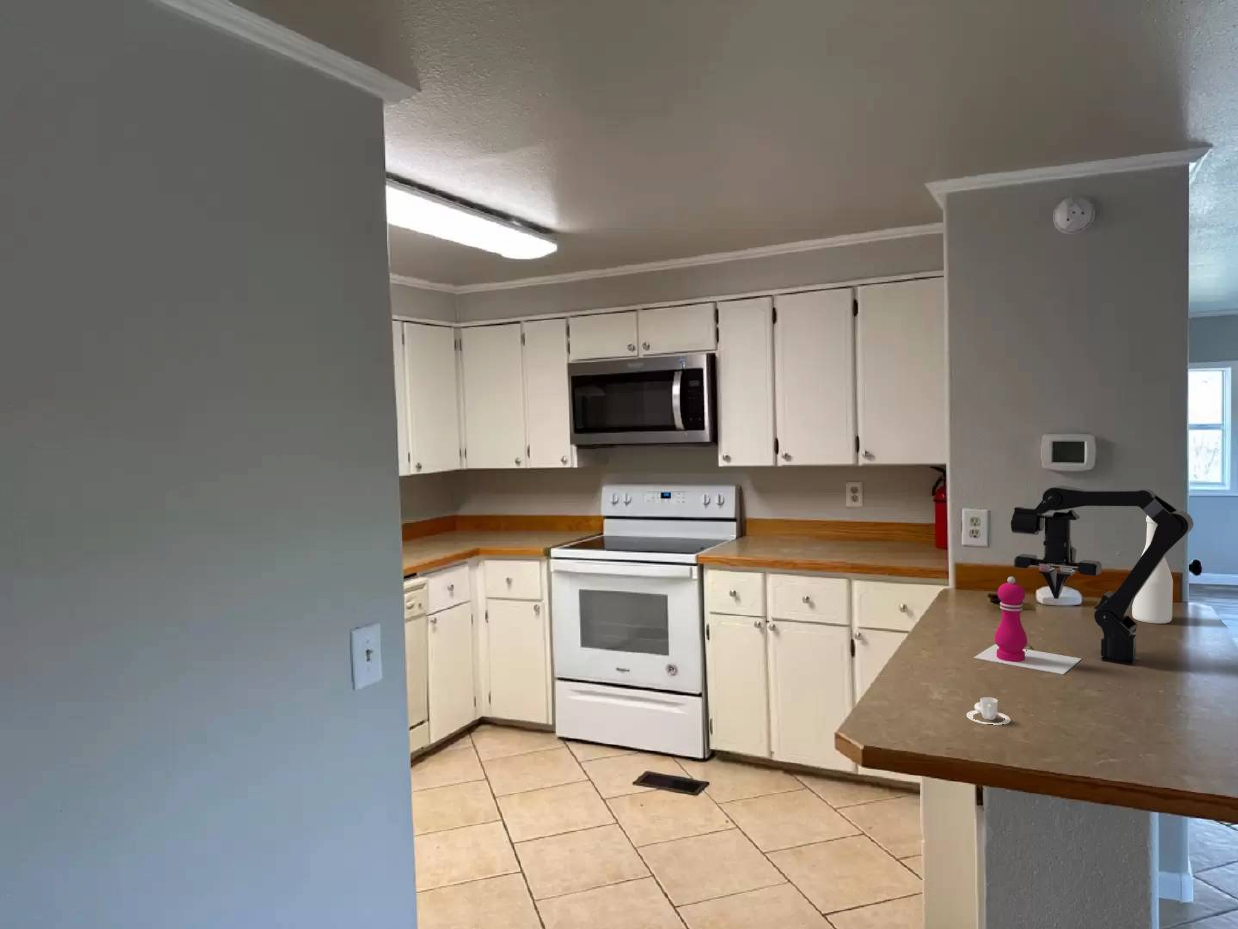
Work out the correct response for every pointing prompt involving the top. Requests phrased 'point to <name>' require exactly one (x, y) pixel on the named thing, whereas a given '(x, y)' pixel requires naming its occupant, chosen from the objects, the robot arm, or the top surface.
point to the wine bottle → (1154, 590)
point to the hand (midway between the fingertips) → (1056, 598)
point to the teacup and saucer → (987, 711)
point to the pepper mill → (1011, 623)
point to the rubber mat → (1034, 660)
